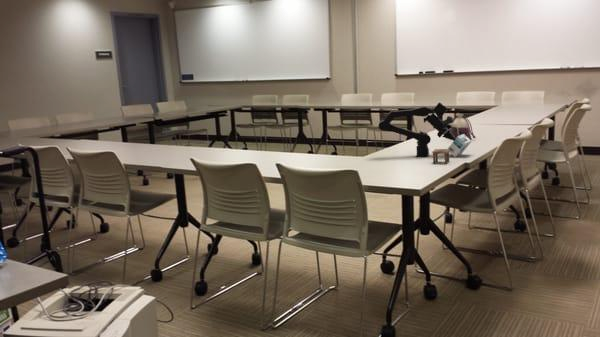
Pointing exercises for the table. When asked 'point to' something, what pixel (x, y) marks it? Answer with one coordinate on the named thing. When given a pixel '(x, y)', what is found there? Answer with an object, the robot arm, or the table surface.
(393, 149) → the table surface
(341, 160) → the table surface
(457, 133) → the pouch
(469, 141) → the light bulb box
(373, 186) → the table surface
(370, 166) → the table surface
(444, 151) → the walnut stool
